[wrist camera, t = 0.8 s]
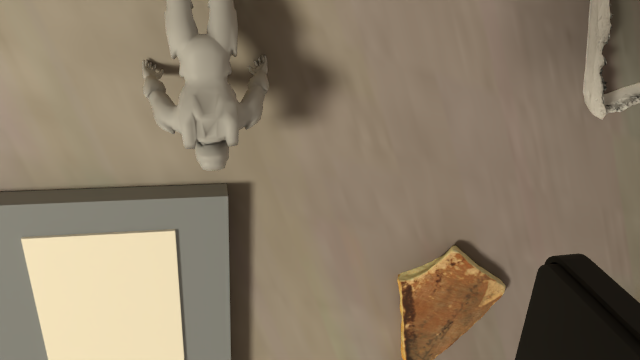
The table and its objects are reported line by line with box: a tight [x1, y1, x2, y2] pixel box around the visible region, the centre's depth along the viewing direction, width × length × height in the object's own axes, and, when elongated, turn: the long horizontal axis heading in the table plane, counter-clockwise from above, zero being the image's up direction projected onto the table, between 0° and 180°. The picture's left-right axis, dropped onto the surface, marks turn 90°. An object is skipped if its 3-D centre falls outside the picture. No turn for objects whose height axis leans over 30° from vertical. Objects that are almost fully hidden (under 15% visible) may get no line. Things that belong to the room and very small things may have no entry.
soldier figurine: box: [142, 0, 269, 171], centre depth 26 cm, size 6×5×12 cm
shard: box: [398, 246, 506, 360], centre depth 40 cm, size 11×8×2 cm
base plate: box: [0, 184, 231, 360], centre depth 34 cm, size 18×14×2 cm
